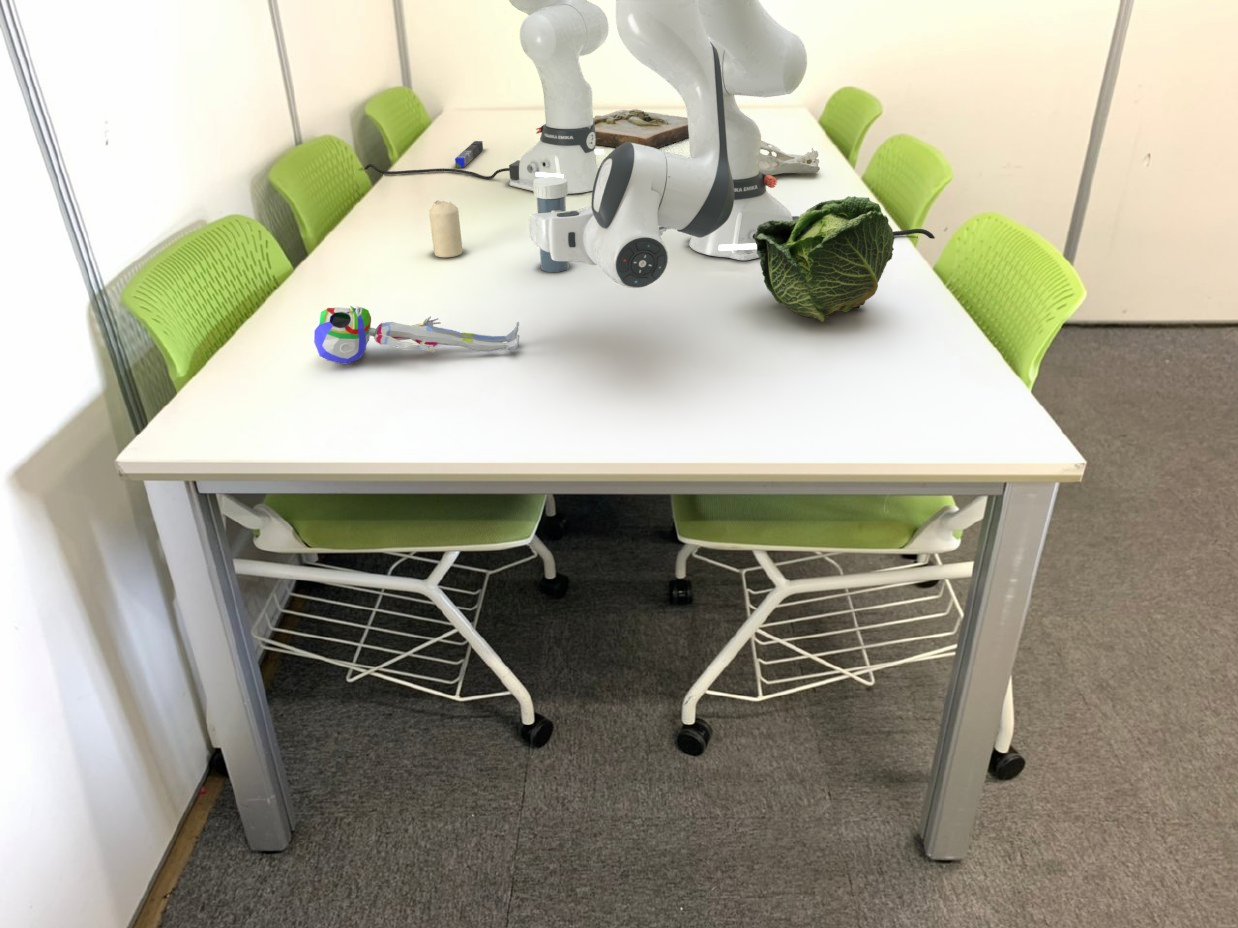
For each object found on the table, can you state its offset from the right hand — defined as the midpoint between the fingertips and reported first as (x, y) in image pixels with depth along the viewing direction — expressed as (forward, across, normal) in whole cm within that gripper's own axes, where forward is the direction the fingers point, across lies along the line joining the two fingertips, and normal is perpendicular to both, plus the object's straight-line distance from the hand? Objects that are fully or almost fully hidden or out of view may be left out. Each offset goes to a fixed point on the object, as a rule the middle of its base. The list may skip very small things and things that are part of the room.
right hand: (584, 213), depth 142 cm
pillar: (+111, +3, +10) cm, 112 cm away
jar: (+23, 0, +15) cm, 27 cm away
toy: (-8, +28, +17) cm, 34 cm away
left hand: (+50, -36, -35) cm, 72 cm away
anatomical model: (+70, -65, +11) cm, 96 cm away
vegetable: (-12, -36, +16) cm, 42 cm away
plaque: (+122, -46, +8) cm, 130 cm away
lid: (+22, +1, -1) cm, 22 cm away
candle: (+37, +18, +14) cm, 44 cm away
